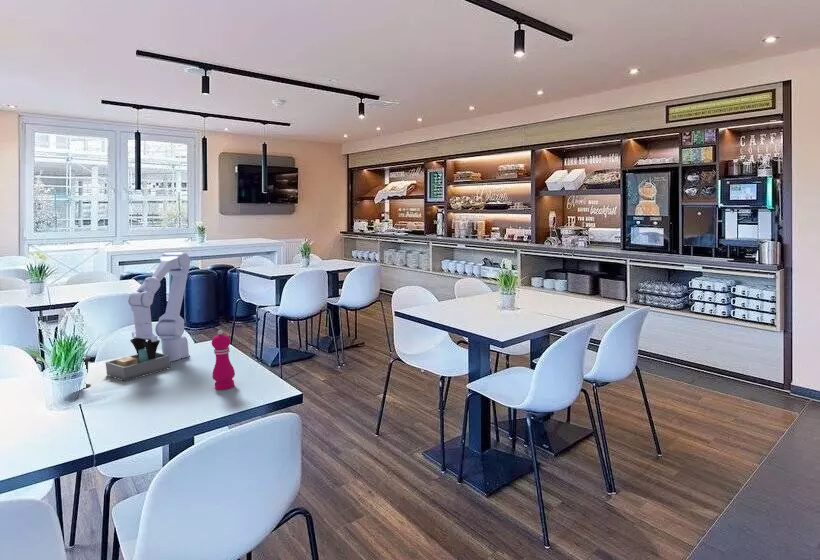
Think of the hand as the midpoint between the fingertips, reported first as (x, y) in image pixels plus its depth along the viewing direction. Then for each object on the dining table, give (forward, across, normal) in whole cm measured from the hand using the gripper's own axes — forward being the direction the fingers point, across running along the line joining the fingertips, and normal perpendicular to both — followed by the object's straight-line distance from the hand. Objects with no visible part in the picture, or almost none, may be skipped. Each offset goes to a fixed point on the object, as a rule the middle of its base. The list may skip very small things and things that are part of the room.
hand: (146, 357), depth 196 cm
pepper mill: (+5, +42, +4) cm, 43 cm away
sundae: (+5, -2, -22) cm, 23 cm away
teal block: (+4, 0, 0) cm, 4 cm away
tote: (+5, -1, -3) cm, 6 cm away
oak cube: (+4, -1, -7) cm, 8 cm away
